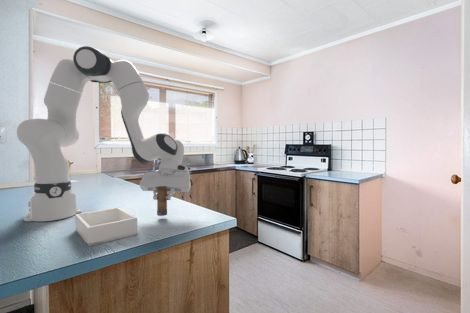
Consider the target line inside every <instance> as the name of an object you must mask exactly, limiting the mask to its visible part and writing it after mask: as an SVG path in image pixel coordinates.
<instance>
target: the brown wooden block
mask: <svg viewBox="0 0 470 313" xmlns="http://www.w3.org/2000/svg"><path fill="white" fill-rule="evenodd" d="M156 194H157V200H156V201H157V202H156V203H157V210H156V215H157V216H158V217H164V216H167V215H168V200H166V195H167V194H168V191H167V186H158V187H157V193H156Z"/></svg>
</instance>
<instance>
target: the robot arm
mask: <svg viewBox="0 0 470 313" xmlns="http://www.w3.org/2000/svg"><path fill="white" fill-rule="evenodd" d="M89 81H90V82H91V83H97V84H98V83H99V84H108V83H112V84H113V85H114V87H115V89H116V91H117V94H118V95H119V99H120V104H121V110H120V115H121V118H122V123H123V124H124V127H125V130H126V133H127V136H128V140H129V142H130V145H131V150H132V155H133V157H134V160H136V161H137V162H138V163H141V164H144V165H148V164H150V163H152V162H153V161H155V160H157V159H160V164H159V167H158V170H148V171H146V172H144V173H143V176H142V178H141V180H140V182H139V188H140V189H141V191H143V192H152V193H153V197H152V199H153V200H154V201H157V187H158V186H167V192H169V193H167V195H166V200H167V201H171V200H172V199H171V198H172V197H173V196H174V195H175V193H176V192H178V193H179V192H181V193H182V192H183V193H185V192H186V193H189V192H190V190H191V188H192V187H191V173H190V170H189V168H188V166H186V165H183V164H182V162H183V159H184V155H185V147H184V144H183V143H182V141H180V140H178V139H175V138H173V137H171V135H169V134H167V133H166V132H158V133H155V134H154V135H152V136H150V137H148V138H144V135H143V133H142V130H141V129H142V128H141V126H140V123H139V119H140V115H141V113H142V111H143V110H144V109H145V107H146V105H147V104H148V102H149V98H150V95H149V90H148V89H147V87H146V84H145V82H144V80H143V78H142V76H141V75H140V73H139V72H138V69H136V67H135V65H134V64H133V63H132V62H130V61H128V60H126V59H120V60H116V61H112V59H111V58H110V57H108V55H106V54H105V53H103V52H102V51H100V50H99V49H97V48H95V47H92V46H87V45H85V46H80V47H79V48H77V49H76V50H75V52H74V54H73V58H72V59H69V58H64V59H61V60H60V61H59V62H58V63H57V65H56V67H55V68H54V70H53V73H52V75H51V76H50V78H49V82H48V84H47V88H46V91H45V94H44V98H43V103H44V105H45V106H46V108H47V119H45V118H31V119H30V118H29V119H25V120H24V121H21V122H20V123H19V125H18V126H17V128H16V137H17V138H18V140H19V142H20V143H21V144H23V145H24V146H25V147H26V149H27V150H28V152H29V153H30V156H31V158H32V161H33V166H34V175H35V176H34V177H35V183H34V186H33V190H34V191H33V192H34V195H33V196H32V197H31V198H30V199H29V201H28V203H27V204H28V205H27V206H28V208H29V209H28V210H29V212H28V213H27V214H26V216H25V217H24V218H23V222H51V221H57V220H62V219H68V218H70V217H73V216H75V214H81V213H82V209H80V208H78V206H77V196H76V193H75V192H73V191H72V190H71V189H72V181H71V180H70V179H71V178H70V164H69V163H70V162H69V161H68V160H67V158H65V156H64V154H63V151H62V149H61V148H66V147H69V146H72V145H74V144H76V143H77V142H78V141H79V139H80V132H79V130H78V128H77V111H78V107H79V104H80V101H81V97H82V95H83V92H84V89H85V86H86V84H87V83H88V82H89Z"/></svg>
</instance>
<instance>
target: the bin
mask: <svg viewBox="0 0 470 313" xmlns="http://www.w3.org/2000/svg"><path fill="white" fill-rule="evenodd" d="M74 216H75V217H74V219H75V232H76V233H77V234H78V235H79V237H81V239H82V241H84V243H85V244H86V245H87V246H88V247H93V246H96V245H100V244H105V243H109V242H113V241H117V240H121V239H125V238H129V237H133V236H137V235H138V217H136V216H135V215H133V214H131V213H129V212H128V211H126V210H124V209H123V208H122V207H121V208H120V207H119V206H118V207H117V206H116V207H112V208H105V209H98V210H94V211H87V212H83V213H82V212H80V213H77V214H75V215H74Z"/></svg>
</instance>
